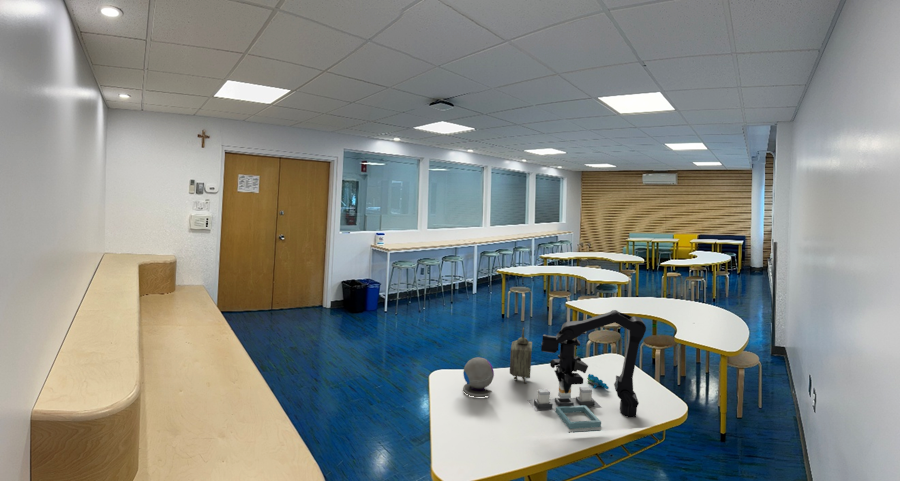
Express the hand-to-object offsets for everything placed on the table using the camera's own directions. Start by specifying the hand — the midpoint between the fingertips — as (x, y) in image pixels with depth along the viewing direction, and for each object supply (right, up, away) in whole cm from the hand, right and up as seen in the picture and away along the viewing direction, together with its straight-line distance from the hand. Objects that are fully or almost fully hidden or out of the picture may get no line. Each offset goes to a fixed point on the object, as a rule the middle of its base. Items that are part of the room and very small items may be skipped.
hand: (564, 391), depth 178 cm
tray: (+2, -8, -11) cm, 14 cm away
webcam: (-35, -5, +12) cm, 37 cm away
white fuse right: (+9, -5, +2) cm, 10 cm away
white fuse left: (-9, -5, -1) cm, 10 cm away
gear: (+19, -6, +18) cm, 27 cm away
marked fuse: (0, -2, 0) cm, 2 cm away
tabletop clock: (-14, -4, +25) cm, 29 cm away
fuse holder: (0, -7, +1) cm, 7 cm away
